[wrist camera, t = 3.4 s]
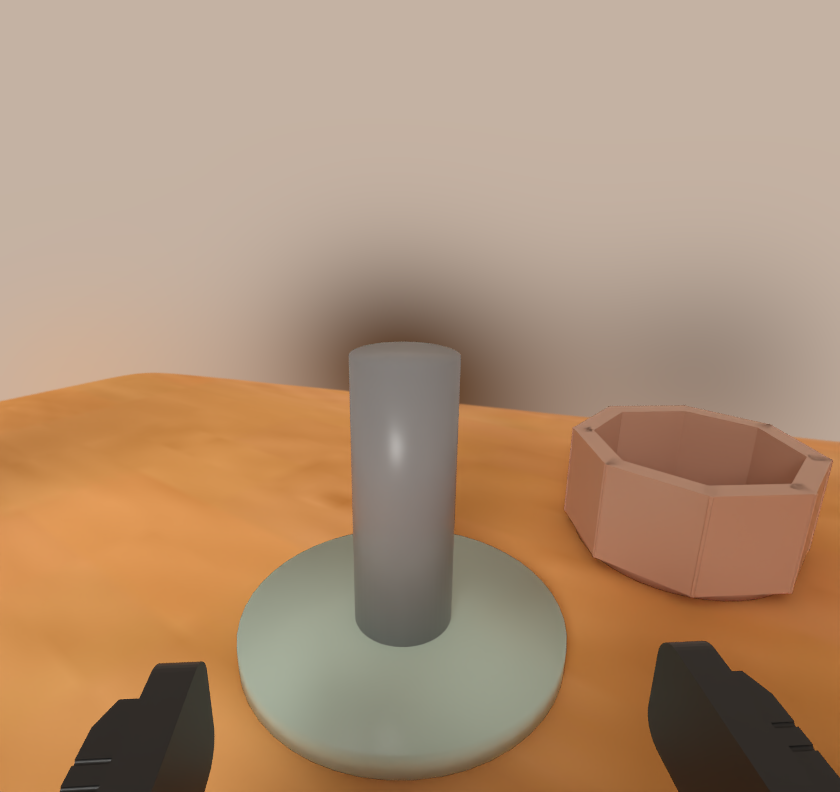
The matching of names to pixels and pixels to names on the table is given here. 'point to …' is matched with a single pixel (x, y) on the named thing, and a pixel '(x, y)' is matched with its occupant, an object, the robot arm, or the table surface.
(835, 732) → the table surface
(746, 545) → the bowl
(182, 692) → the robot arm
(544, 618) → the peg on round base
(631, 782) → the table surface
